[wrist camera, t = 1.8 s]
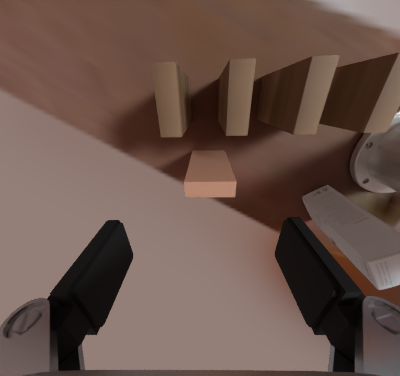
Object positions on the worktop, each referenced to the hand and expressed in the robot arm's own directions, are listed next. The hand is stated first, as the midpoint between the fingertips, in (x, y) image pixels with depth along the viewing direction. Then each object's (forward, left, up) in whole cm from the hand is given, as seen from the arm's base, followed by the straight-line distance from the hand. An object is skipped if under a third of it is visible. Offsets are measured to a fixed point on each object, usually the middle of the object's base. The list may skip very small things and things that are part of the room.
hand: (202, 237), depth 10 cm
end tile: (-1, 0, -16) cm, 16 cm away
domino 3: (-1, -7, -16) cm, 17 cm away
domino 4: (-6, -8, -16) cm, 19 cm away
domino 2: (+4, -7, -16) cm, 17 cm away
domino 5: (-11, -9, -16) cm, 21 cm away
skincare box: (-20, +5, -16) cm, 26 cm away
